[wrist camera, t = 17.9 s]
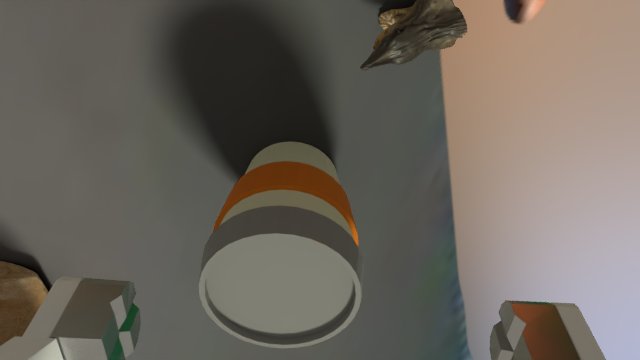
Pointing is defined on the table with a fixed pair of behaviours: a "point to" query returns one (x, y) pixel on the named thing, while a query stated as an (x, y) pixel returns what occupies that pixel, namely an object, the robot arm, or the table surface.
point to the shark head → (416, 31)
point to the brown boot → (18, 299)
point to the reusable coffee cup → (284, 252)
